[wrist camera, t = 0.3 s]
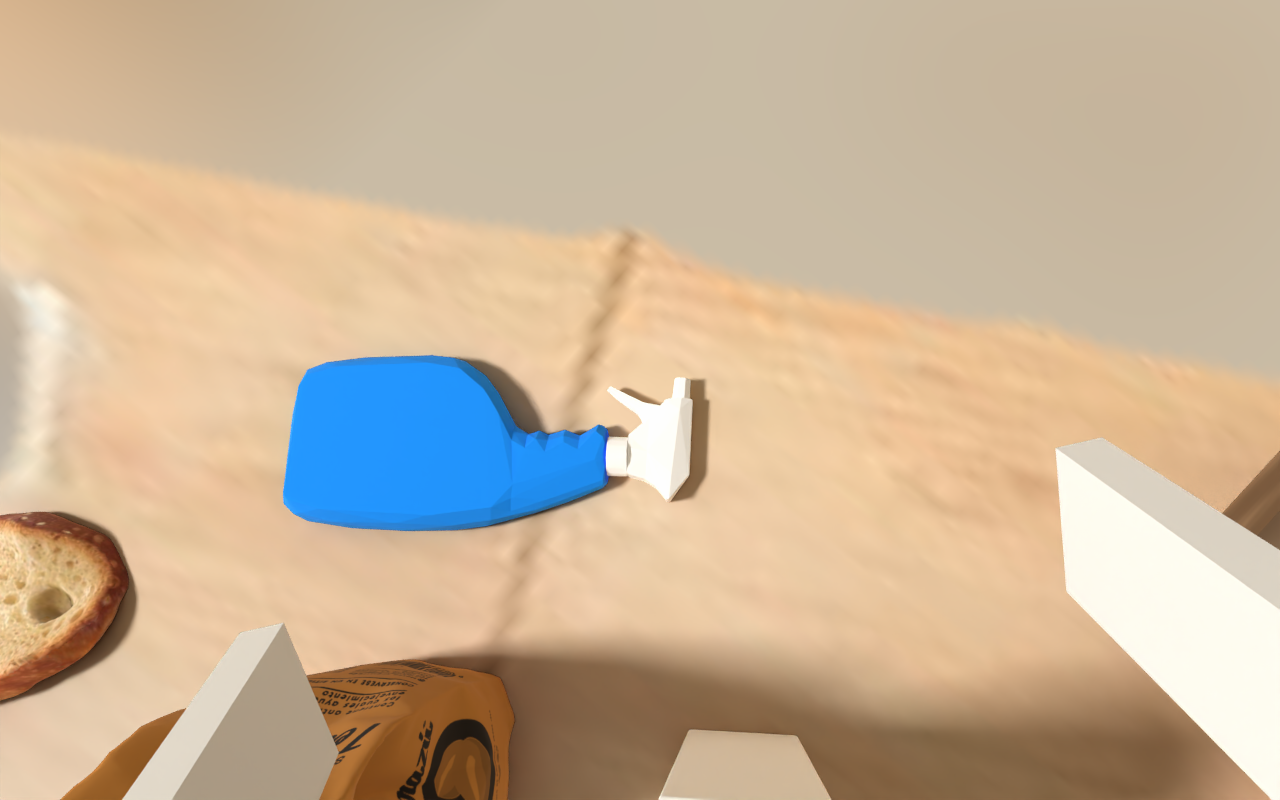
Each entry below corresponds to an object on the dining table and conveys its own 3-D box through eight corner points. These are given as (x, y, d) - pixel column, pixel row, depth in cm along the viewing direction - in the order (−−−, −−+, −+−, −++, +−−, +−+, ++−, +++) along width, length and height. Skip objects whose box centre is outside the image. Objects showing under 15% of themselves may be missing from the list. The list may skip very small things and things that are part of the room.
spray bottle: (271, 525, 50) (689, 535, 47) (296, 348, 53) (692, 349, 50) (296, 530, 53) (691, 540, 50) (318, 362, 55) (694, 364, 53)
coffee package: (519, 850, 46) (336, 1043, 25) (302, 841, 48) (-46, 1017, 26) (527, 659, 49) (366, 688, 28) (321, 656, 50) (17, 681, 29)
